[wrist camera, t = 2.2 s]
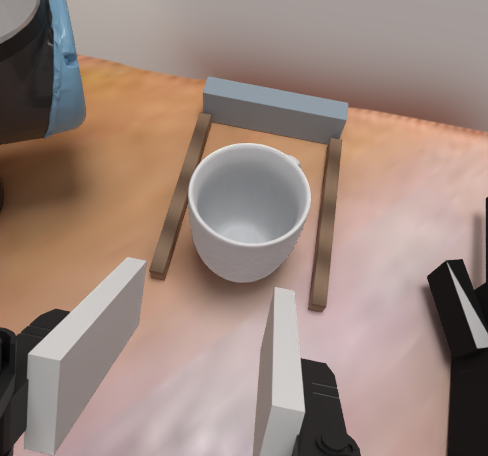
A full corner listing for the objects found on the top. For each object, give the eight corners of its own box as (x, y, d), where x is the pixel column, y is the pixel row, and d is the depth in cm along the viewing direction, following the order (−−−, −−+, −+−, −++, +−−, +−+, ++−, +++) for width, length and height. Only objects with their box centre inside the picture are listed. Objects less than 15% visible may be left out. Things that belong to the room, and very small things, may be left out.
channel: (321, 312, 46) (326, 306, 44) (151, 277, 46) (149, 270, 44) (337, 149, 57) (342, 139, 55) (200, 122, 57) (200, 112, 55)
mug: (248, 176, 54) (258, 100, 42) (322, 222, 51) (354, 155, 40) (172, 262, 47) (160, 200, 36) (252, 319, 45) (267, 272, 33)
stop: (336, 146, 57) (346, 120, 53) (203, 120, 57) (203, 92, 53) (337, 129, 58) (348, 103, 54) (208, 104, 59) (208, 76, 55)
